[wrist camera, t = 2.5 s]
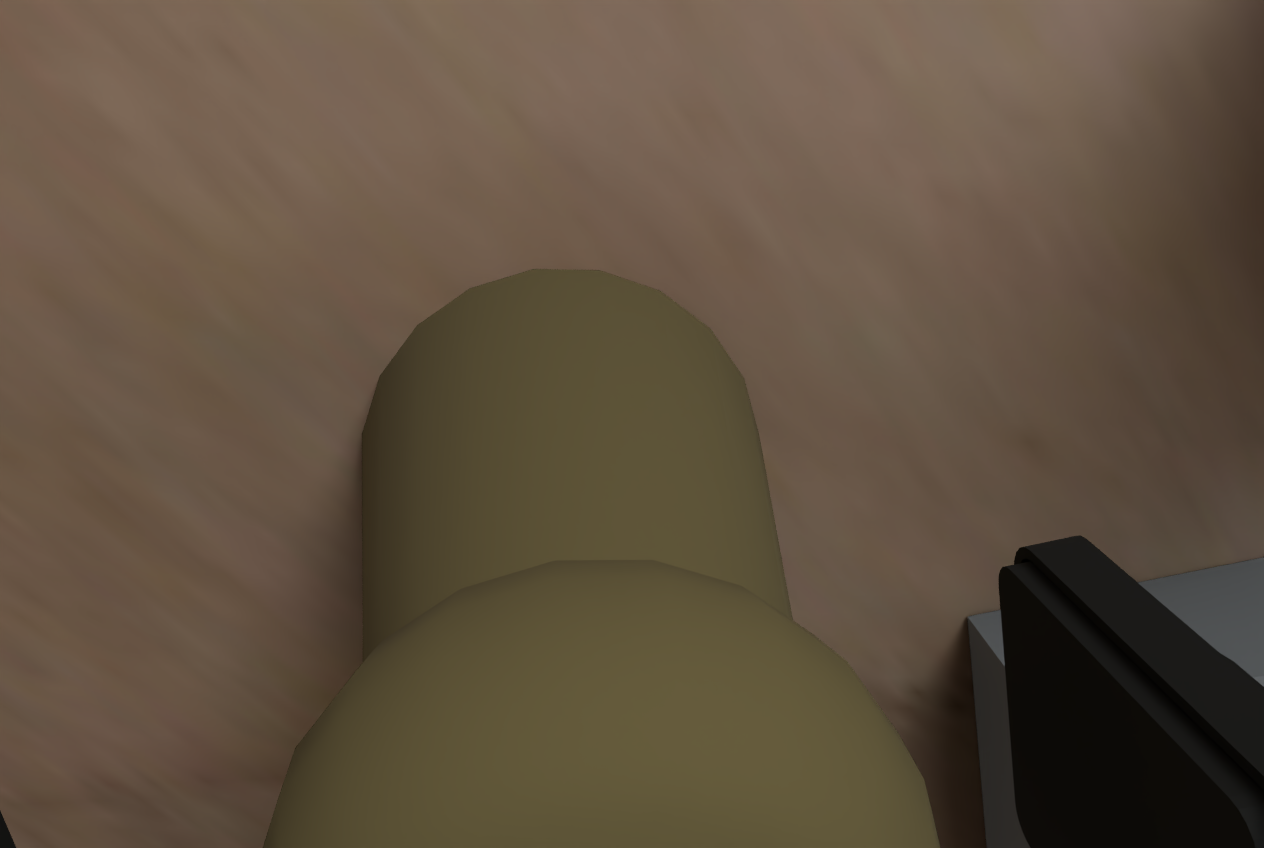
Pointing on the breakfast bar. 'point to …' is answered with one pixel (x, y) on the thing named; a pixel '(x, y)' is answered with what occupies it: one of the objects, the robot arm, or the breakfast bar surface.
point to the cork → (584, 605)
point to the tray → (1204, 600)
